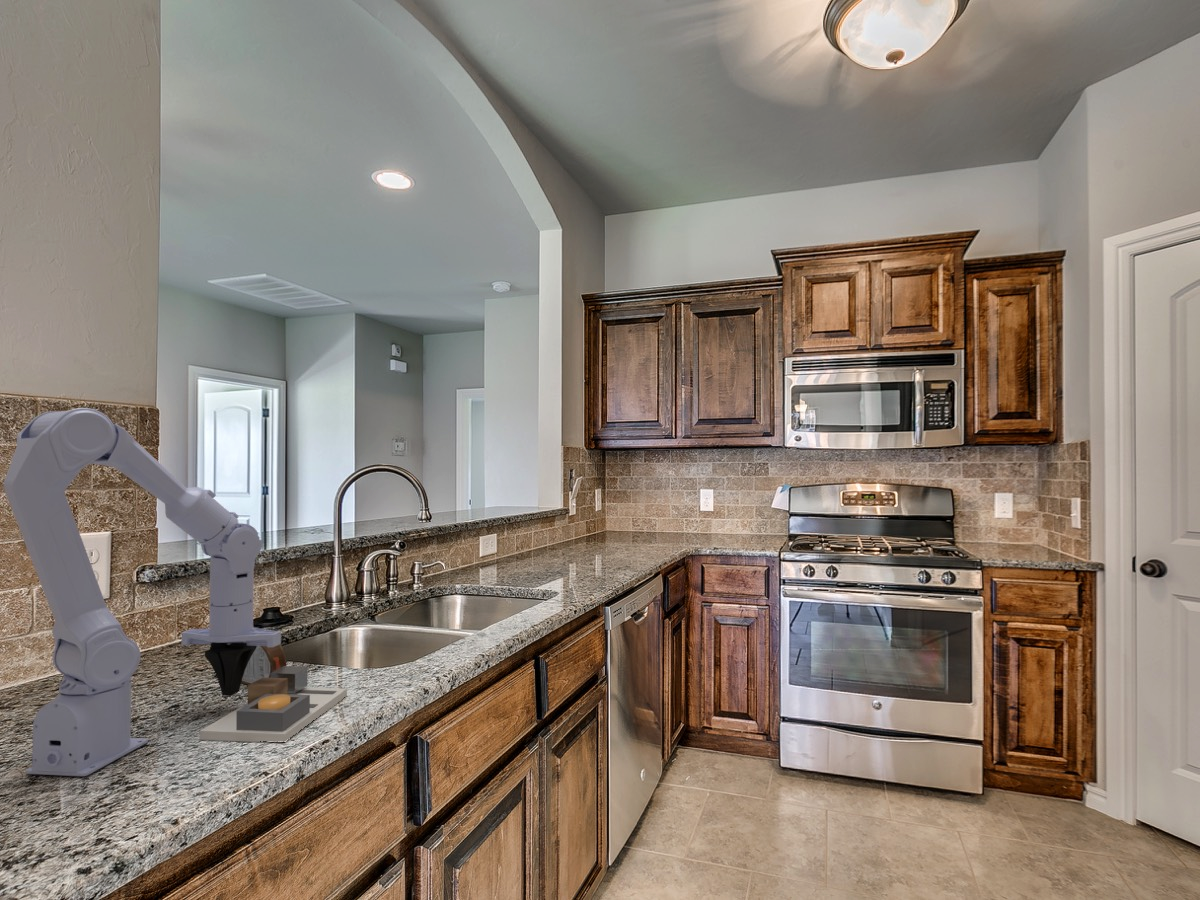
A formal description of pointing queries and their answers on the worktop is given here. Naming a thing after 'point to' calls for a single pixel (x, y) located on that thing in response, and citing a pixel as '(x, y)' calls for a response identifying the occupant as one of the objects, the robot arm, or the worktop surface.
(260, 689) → the small cardboard carton
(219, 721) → the panel
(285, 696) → the orange button
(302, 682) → the grey slider
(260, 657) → the tin
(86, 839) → the worktop surface
